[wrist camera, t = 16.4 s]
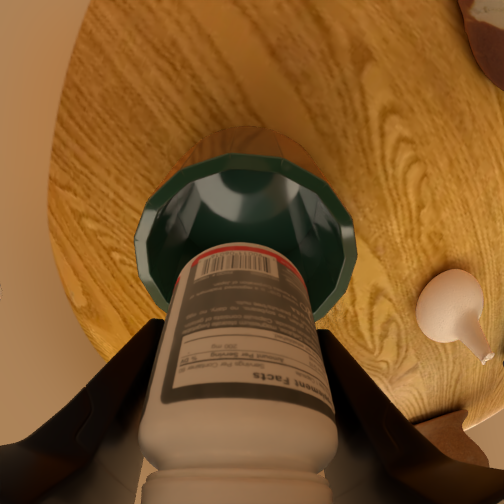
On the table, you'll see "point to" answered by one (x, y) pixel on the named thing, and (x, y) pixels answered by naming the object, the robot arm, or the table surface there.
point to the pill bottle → (238, 387)
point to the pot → (247, 213)
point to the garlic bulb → (454, 311)
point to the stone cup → (453, 438)
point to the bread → (486, 35)
